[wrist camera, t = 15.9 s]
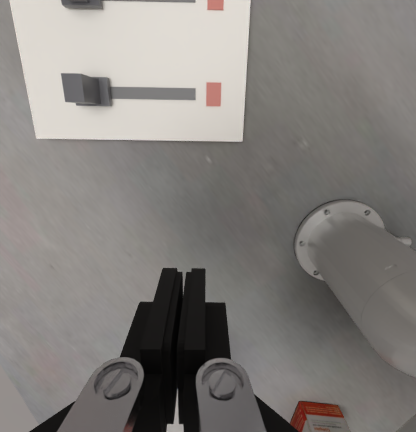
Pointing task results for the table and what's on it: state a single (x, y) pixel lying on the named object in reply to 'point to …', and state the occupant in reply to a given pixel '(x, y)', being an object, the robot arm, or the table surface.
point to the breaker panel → (137, 67)
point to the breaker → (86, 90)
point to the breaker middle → (82, 3)
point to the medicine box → (318, 418)
